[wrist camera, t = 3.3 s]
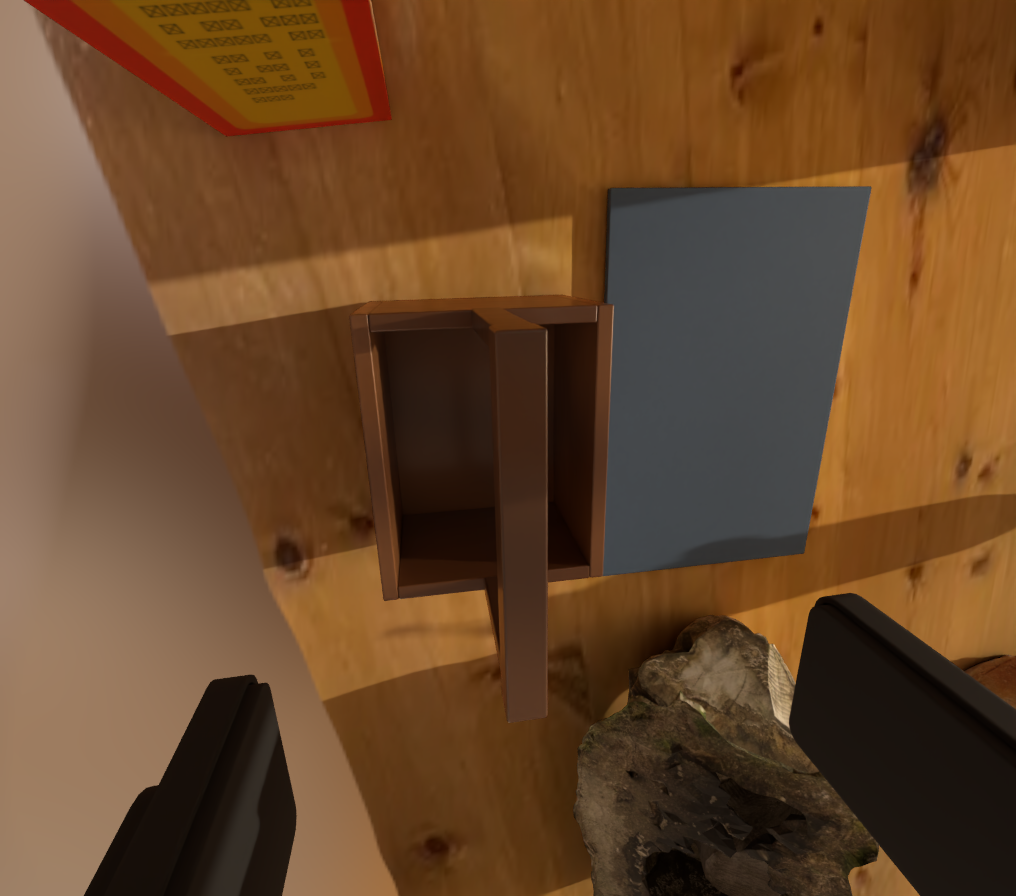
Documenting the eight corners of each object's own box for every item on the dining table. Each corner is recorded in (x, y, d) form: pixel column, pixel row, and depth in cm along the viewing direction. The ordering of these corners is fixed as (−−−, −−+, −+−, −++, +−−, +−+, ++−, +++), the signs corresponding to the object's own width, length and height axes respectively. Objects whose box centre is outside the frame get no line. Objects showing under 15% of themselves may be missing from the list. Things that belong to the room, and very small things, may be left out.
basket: (368, 300, 24) (307, 339, 11) (563, 293, 25) (714, 321, 12) (392, 522, 27) (367, 745, 14) (561, 506, 28) (674, 699, 16)
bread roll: (925, 619, 41) (980, 694, 33) (1089, 649, 38) (1189, 737, 31) (890, 719, 44) (934, 807, 36) (1039, 752, 41) (1119, 855, 34)
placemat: (607, 189, 24) (610, 187, 23) (865, 187, 25) (872, 186, 25) (594, 573, 30) (596, 577, 30) (799, 550, 32) (804, 553, 32)
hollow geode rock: (635, 834, 45) (835, 970, 37) (556, 990, 36) (802, 1222, 27) (674, 553, 35) (962, 652, 27) (579, 665, 26) (978, 873, 17)
